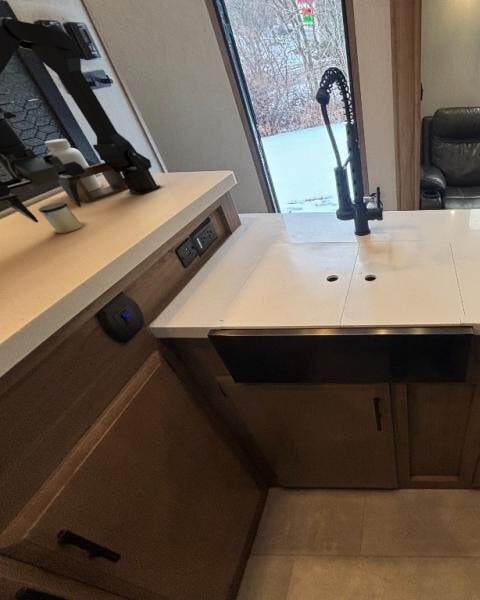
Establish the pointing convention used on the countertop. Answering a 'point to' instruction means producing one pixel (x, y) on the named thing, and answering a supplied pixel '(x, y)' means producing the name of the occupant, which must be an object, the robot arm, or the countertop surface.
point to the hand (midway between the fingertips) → (58, 214)
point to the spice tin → (60, 217)
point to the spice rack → (115, 186)
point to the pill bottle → (72, 159)
